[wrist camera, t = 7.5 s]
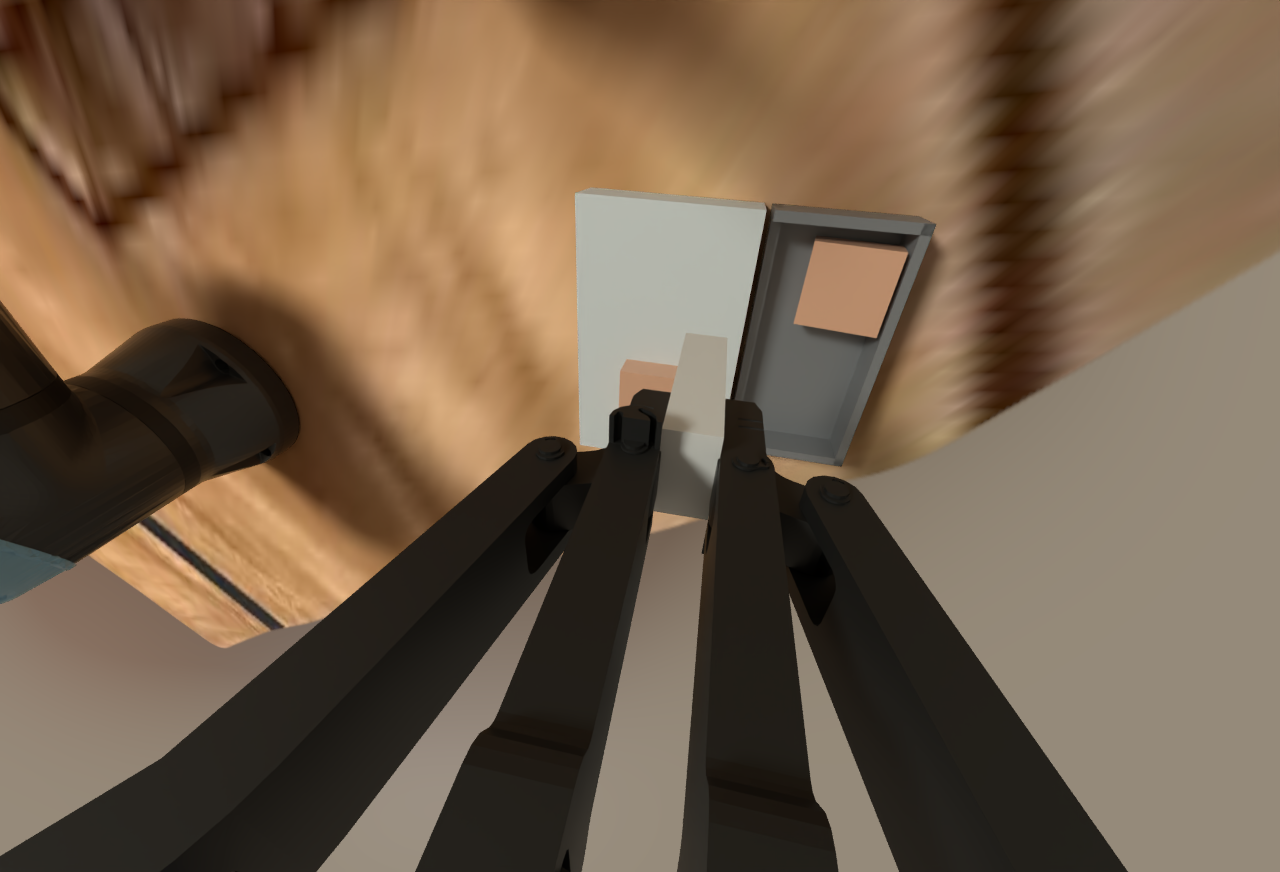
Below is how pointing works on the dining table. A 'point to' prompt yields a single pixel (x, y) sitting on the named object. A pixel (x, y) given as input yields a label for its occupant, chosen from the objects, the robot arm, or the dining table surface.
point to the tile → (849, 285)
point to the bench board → (656, 285)
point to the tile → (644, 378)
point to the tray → (817, 334)
